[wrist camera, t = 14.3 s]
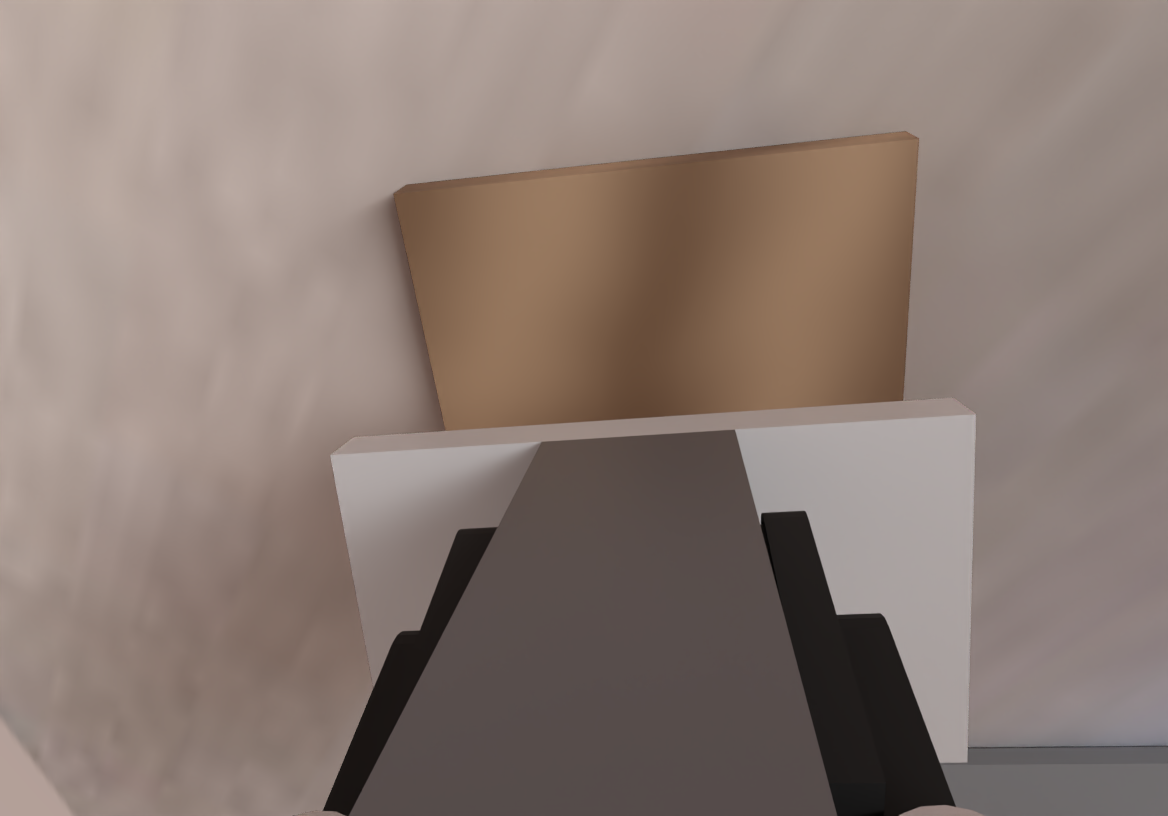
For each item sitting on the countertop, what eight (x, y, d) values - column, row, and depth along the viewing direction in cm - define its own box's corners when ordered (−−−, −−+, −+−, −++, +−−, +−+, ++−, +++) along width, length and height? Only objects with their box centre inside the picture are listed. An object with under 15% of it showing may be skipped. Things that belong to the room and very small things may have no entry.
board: (905, 131, 17) (919, 138, 16) (882, 553, 22) (892, 577, 21) (406, 184, 19) (393, 194, 18) (487, 569, 23) (481, 592, 22)
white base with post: (353, 437, 14) (-596, 1174, 4) (953, 397, 13) (2258, 1360, 2) (405, 733, 16) (-152, 1875, 5) (947, 724, 14) (1721, 2221, 4)
